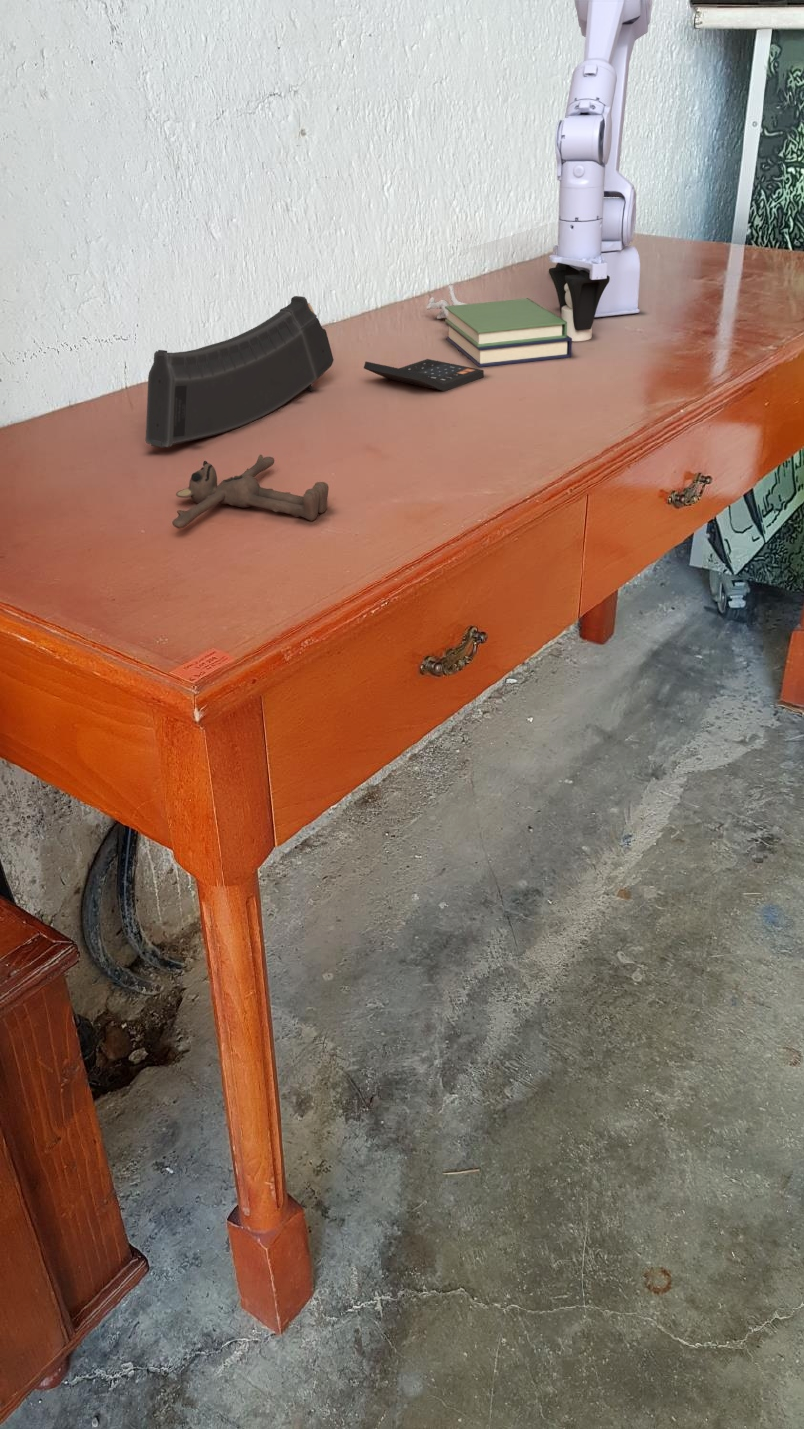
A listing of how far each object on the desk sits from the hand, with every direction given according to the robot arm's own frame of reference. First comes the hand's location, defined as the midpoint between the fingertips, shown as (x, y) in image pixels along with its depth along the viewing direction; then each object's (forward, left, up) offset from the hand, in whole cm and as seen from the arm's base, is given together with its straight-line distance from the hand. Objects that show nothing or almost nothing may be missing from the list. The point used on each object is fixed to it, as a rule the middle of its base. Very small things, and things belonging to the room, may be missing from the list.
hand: (576, 325), depth 156 cm
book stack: (+11, +2, -2) cm, 11 cm away
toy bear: (0, 0, -2) cm, 2 cm away
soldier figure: (+13, -13, -2) cm, 18 cm away
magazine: (+48, +19, -2) cm, 52 cm away
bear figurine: (+51, +48, -2) cm, 70 cm away
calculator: (+25, +13, -2) cm, 28 cm away
